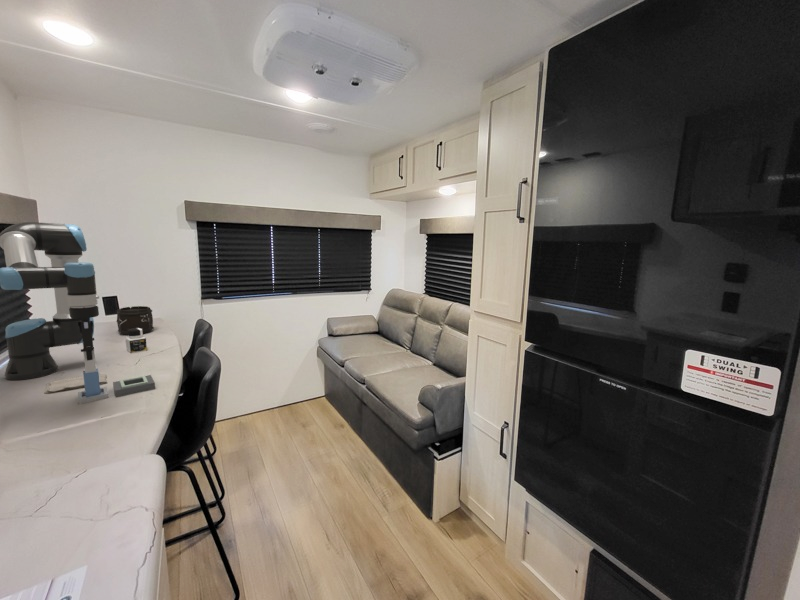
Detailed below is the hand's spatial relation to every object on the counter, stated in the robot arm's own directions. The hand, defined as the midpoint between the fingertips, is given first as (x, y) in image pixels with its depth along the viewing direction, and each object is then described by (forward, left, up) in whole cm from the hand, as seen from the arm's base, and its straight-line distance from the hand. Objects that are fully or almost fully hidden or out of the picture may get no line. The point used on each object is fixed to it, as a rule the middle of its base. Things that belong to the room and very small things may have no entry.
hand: (90, 363), depth 120 cm
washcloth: (-4, +18, -15) cm, 24 cm away
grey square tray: (0, 0, -14) cm, 14 cm away
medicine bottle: (+19, +59, -14) cm, 64 cm away
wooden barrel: (+23, +102, -14) cm, 106 cm away
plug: (0, 0, -13) cm, 13 cm away
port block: (+12, 0, -14) cm, 19 cm away
